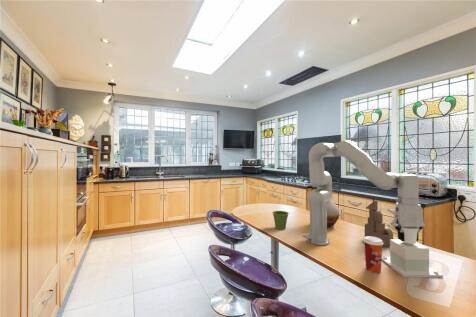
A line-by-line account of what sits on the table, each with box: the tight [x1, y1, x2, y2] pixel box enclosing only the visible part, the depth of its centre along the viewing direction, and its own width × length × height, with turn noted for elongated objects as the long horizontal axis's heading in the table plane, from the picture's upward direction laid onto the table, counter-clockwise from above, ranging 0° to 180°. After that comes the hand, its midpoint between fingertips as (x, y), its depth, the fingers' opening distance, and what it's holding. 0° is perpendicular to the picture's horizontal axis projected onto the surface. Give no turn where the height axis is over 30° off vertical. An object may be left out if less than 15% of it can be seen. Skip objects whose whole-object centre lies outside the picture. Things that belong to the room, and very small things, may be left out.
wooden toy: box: [364, 200, 394, 248], centre depth 127 cm, size 15×7×25 cm, turn 16°
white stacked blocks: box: [381, 238, 444, 278], centre depth 98 cm, size 16×16×11 cm
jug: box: [325, 200, 340, 228], centre depth 158 cm, size 20×18×30 cm
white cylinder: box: [399, 226, 418, 244], centre depth 98 cm, size 7×7×7 cm
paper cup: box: [363, 236, 383, 274], centre depth 96 cm, size 8×8×14 cm
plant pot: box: [272, 210, 290, 231], centre depth 154 cm, size 12×12×11 cm
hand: (407, 239), depth 98 cm, fingers closed on white cylinder, 5 cm apart
